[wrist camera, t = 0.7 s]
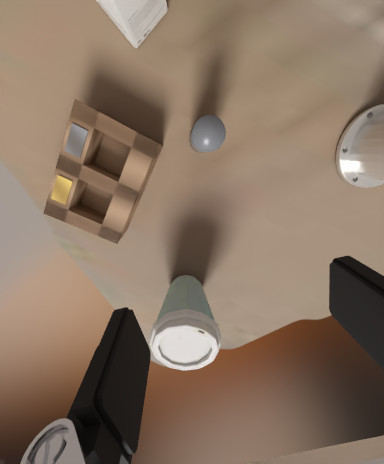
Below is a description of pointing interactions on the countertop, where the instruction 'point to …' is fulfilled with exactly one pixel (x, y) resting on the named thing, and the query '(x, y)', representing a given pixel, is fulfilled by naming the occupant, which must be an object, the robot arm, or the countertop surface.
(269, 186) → the countertop surface
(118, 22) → the skincare box
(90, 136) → the socket block
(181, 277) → the disposable coffee cup
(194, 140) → the peg
